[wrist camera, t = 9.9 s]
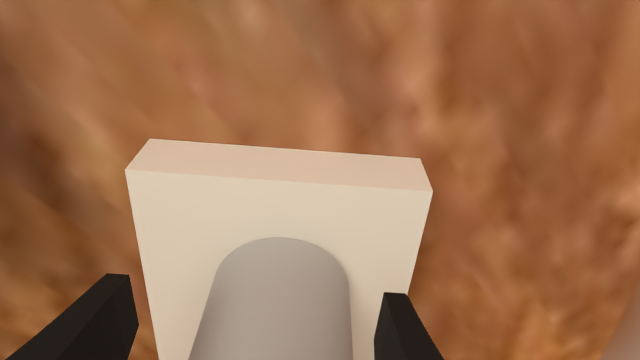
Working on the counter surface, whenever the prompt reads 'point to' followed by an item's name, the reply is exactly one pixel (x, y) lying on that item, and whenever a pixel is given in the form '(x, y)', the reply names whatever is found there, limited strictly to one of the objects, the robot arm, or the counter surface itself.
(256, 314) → the beverage can
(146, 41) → the counter surface
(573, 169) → the counter surface
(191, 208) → the block
